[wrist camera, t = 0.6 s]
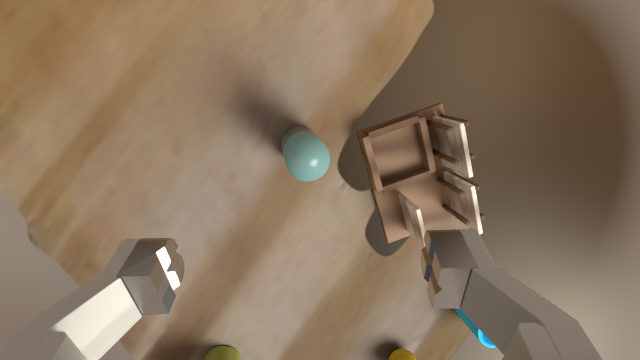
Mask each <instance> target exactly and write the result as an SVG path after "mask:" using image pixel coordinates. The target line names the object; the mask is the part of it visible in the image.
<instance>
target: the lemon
mask: <svg viewBox="0 0 640 360" xmlns="http://www.w3.org/2000/svg"><path fill="white" fill-rule="evenodd" d="M389 360H417V359H416V357H415V356H414V355H413V354H412V353H411V352H410V351H408V350H406V349H397V350H395V351H394V352H392V354H391V355H390V357H389Z"/></svg>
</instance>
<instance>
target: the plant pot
mask: <svg viewBox="0 0 640 360" xmlns="http://www.w3.org/2000/svg"><path fill="white" fill-rule="evenodd" d="M204 360H240V355H239V353H238V351H237V350H236V349H235V348H233V347H226V346H217V347H214V348H213V349H211V350H210V351H209V352H208V353H207V354H206V356H205V359H204Z"/></svg>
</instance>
